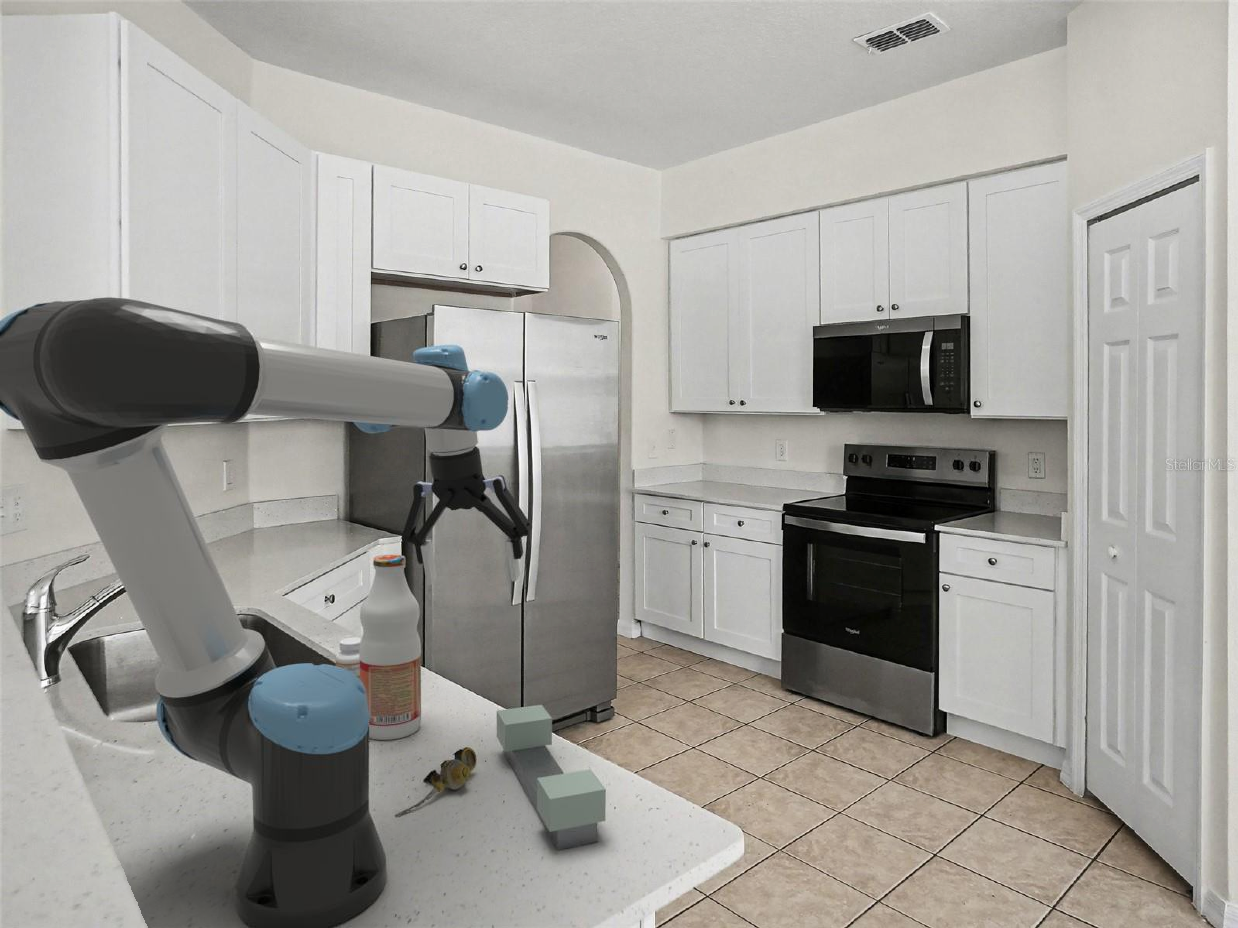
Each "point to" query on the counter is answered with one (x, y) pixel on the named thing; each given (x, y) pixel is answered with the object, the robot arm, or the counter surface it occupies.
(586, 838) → the rail
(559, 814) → the mounted modules
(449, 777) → the regulator
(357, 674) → the supplement bottle
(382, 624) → the fruit juice
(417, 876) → the counter surface
